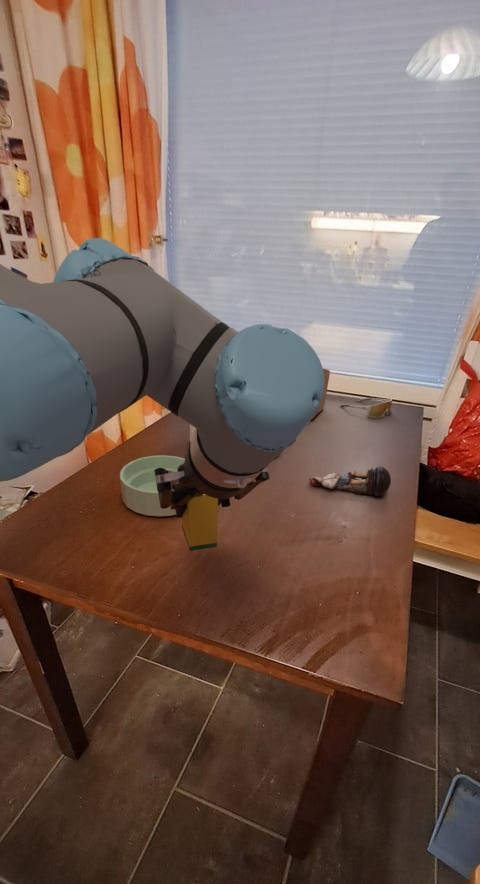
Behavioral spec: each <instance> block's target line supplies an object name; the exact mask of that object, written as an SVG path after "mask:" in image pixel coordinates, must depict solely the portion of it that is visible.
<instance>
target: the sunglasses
mask: <svg viewBox="0 0 480 884" xmlns="http://www.w3.org/2000/svg"><path fill="white" fill-rule="evenodd" d="M365 401H380V402H378V403H376V404H372V405H365V406H364V405H352V404H341V405H340V407H341V408H351V409H361V410H367V417H368V418H372V419H373V418H374V419H379V418H382V417H383V416H385V415H386V416H388V415H389V412H390V410H391V408H392V404H393V399H392V398H390V399H387V398H375V397H366V398H361V399H358V400H357V403H359V402H360V403H361V402H365ZM381 401H382V402H381Z"/></svg>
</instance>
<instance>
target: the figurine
mask: <svg viewBox="0 0 480 884" xmlns="http://www.w3.org/2000/svg"><path fill="white" fill-rule="evenodd" d="M308 480H309V482H310V484H311V485H313V486H315V487H318V486H322V487H324V488H328V489H332V490H333V489H337V490H345V491H351V492H352V491H353V493H354V494H357V495H358V494H360V495H361V494H366V495H370V496H371V495H374V496H375V497H381V496H383V495H385V494H386V493H387V492H388V491H389V489H390V487H391V483H392V478H391V474H390V472H389V471H388V469H386V468H385V467H383V466H380V465H379V466H376V467H375V468H373V467H372V468H370V469H367V470H366V473H362V472H358V471H355V470H352V471H349V472H347V473H345V474H343V475H340V473H337V472H332V473H329V474H326V475H324V476H323V477H320V476H311V477H309V478H308Z"/></svg>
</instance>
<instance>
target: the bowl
mask: <svg viewBox="0 0 480 884" xmlns="http://www.w3.org/2000/svg"><path fill="white" fill-rule="evenodd" d="M184 462H185V457H184V458H183V457H180V456H176V455H164V454H163V455H161V454H160V455H149V456H144V457H139V458H137V459H134V460H132V461H129V462H128V463H127V464H125V465H124V466H123V467H122V468H121V470H120V472H119V479H120V480H119V481H120V488H121V489H120V490H121V497H122V498H121V499H122V502H123V503H124V505H125V506H126V508H128V509H129V510H131V511H133V512H134V513H137V514H140V515H143V516H149V517H150V516H151V517H160V518H161V517H171V516H176V510H175V509H173V510H172V509H171V507H168V508H166V509H162V508H160V501H159V495H158V491H157V485H156V479H155V472H154V470H155V469H157V468H165V469H166V470H172V472H177V469H178V467H179V466H180V465H181V464H183V463H184Z"/></svg>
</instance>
